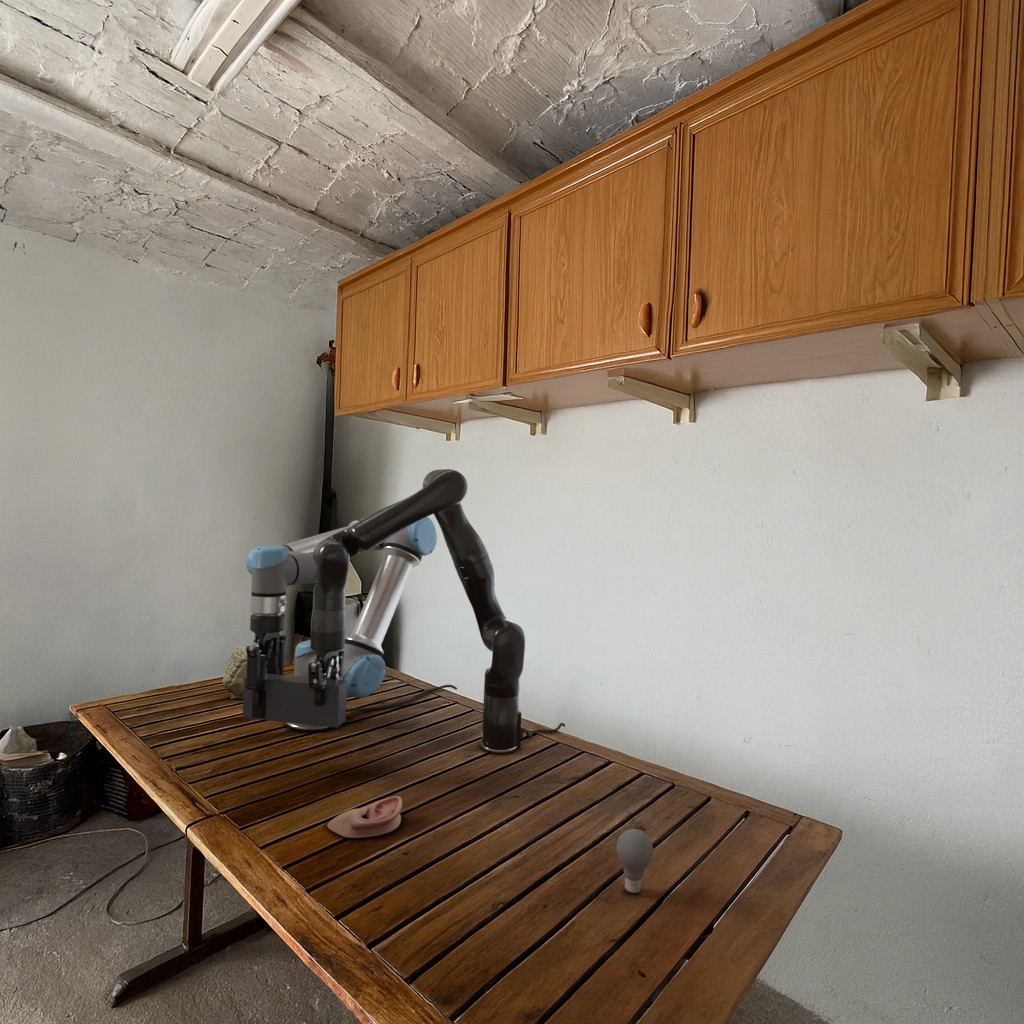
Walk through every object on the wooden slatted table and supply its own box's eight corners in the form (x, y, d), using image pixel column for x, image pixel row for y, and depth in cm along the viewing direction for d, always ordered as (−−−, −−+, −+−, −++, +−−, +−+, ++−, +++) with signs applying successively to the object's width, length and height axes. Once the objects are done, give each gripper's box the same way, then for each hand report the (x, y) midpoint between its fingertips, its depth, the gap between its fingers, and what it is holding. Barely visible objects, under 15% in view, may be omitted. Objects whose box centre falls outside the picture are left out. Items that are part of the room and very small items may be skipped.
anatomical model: (320, 812, 119) (347, 786, 130) (319, 833, 119) (347, 805, 130) (386, 822, 116) (408, 795, 127) (385, 844, 116) (408, 814, 128)
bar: (242, 717, 145) (243, 677, 144) (253, 711, 149) (254, 672, 149) (337, 727, 141) (339, 686, 141) (345, 720, 146) (347, 680, 145)
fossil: (218, 695, 195) (220, 647, 195) (278, 685, 208) (279, 640, 207) (228, 703, 189) (230, 653, 188) (289, 692, 201) (290, 645, 201)
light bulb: (610, 879, 108) (613, 822, 108) (644, 879, 109) (647, 822, 109) (619, 902, 102) (622, 840, 102) (655, 901, 103) (658, 840, 103)
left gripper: (262, 621, 136) (258, 728, 137) (301, 608, 154) (298, 703, 154) (230, 619, 138) (226, 725, 138) (272, 606, 155) (269, 700, 155)
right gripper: (330, 635, 136) (327, 713, 136) (356, 622, 150) (353, 693, 150) (297, 632, 137) (294, 710, 137) (326, 620, 151) (323, 691, 151)
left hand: (264, 713), depth 146 cm, fingers closed on bar, 4 cm apart
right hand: (325, 701), depth 144 cm, fingers open, 5 cm apart
